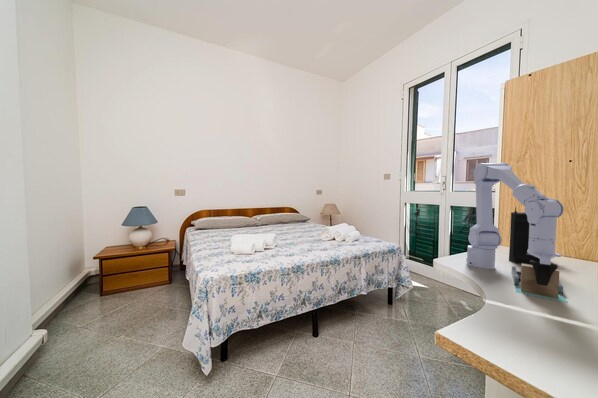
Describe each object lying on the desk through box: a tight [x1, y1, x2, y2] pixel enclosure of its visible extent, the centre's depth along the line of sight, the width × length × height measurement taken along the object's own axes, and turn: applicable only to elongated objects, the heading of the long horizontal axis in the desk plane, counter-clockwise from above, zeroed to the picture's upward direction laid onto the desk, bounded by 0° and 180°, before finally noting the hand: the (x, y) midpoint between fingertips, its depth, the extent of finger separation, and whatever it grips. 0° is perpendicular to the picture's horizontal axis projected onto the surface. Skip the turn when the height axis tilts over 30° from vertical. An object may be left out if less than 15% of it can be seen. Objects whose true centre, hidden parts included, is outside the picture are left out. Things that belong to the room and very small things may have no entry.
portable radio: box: [508, 207, 531, 265], centre depth 99 cm, size 8×6×25 cm
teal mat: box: [514, 285, 569, 304], centre depth 72 cm, size 11×6×1 cm, turn 50°
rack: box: [510, 265, 564, 295], centre depth 80 cm, size 11×14×3 cm
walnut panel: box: [520, 263, 560, 299], centre depth 71 cm, size 8×2×8 cm, turn 50°
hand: (539, 280), depth 71 cm, fingers open, 7 cm apart
